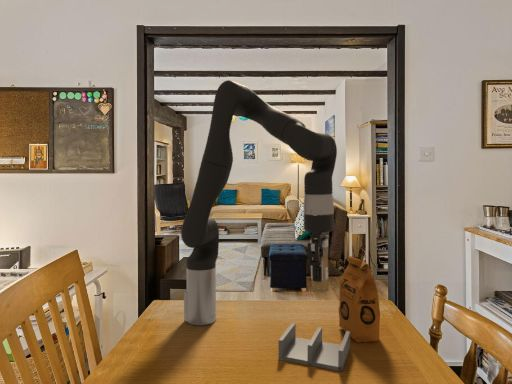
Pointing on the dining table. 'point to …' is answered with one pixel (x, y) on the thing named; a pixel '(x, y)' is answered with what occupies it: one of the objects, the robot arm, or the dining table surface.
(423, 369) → the dining table surface
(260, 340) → the dining table surface
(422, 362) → the dining table surface
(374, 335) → the coffee package
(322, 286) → the sprinkles bottle
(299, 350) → the bottle rack
